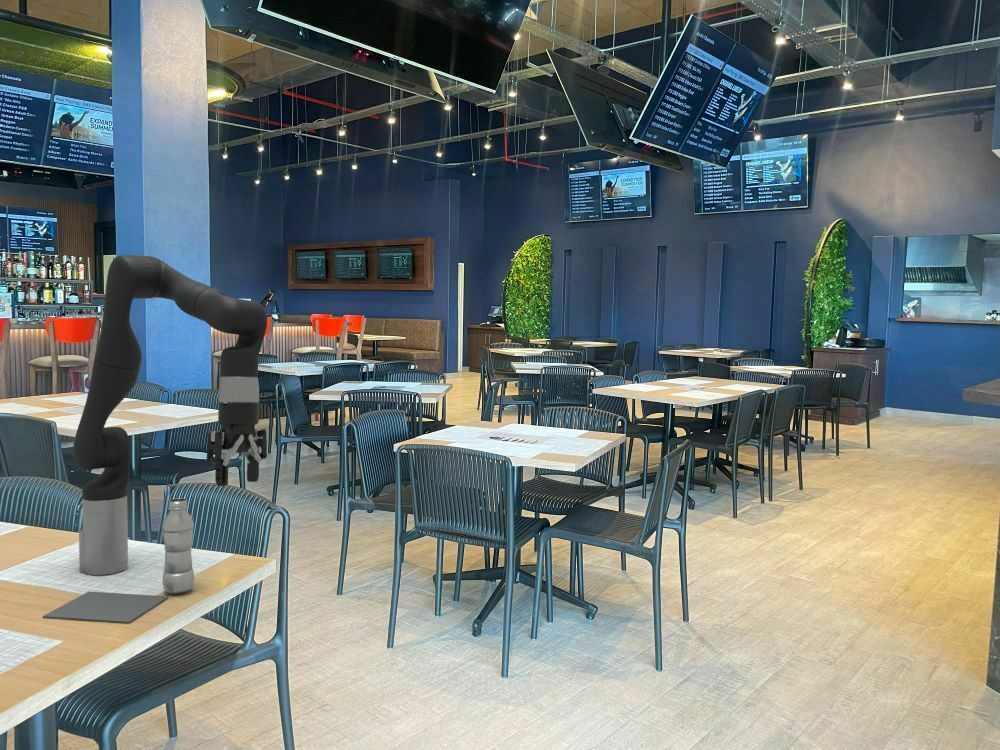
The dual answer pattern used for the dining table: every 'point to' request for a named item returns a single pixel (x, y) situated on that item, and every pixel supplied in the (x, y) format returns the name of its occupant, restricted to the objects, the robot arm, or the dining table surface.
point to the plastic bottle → (178, 548)
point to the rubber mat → (107, 607)
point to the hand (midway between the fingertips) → (237, 483)
